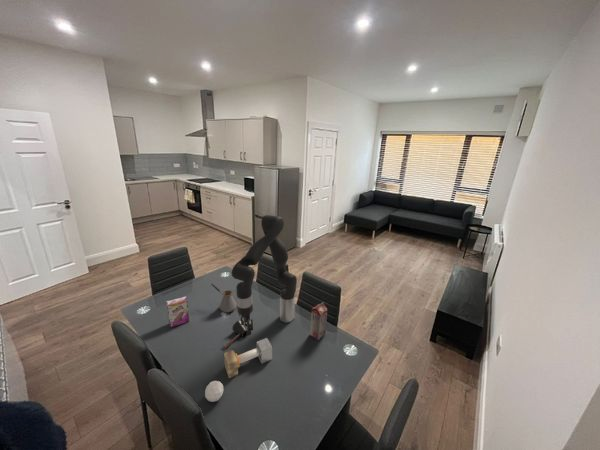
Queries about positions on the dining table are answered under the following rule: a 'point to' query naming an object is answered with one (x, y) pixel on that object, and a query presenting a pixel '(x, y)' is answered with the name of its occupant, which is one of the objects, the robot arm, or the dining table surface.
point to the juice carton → (318, 321)
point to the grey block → (264, 350)
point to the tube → (247, 355)
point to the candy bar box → (177, 311)
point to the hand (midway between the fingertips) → (246, 329)
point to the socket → (231, 363)
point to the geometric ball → (214, 391)
